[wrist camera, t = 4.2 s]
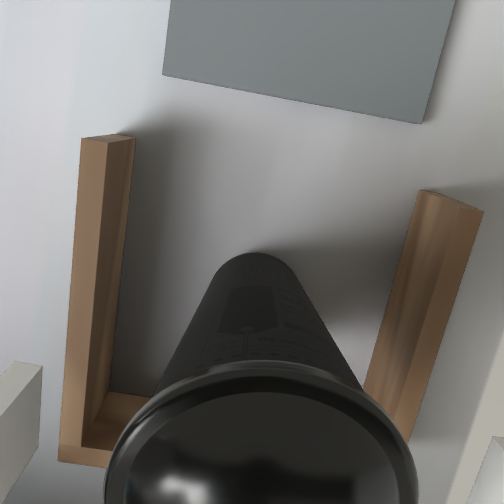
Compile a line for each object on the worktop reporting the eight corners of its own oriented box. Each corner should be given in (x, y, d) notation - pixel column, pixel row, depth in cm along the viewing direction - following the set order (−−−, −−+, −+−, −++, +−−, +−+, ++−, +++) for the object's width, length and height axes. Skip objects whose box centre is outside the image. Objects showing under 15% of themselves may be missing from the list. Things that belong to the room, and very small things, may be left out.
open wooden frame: (89, 403, 26) (57, 461, 22) (114, 133, 22) (81, 138, 17) (364, 444, 27) (386, 507, 22) (439, 193, 23) (484, 211, 18)
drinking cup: (152, 304, 24) (-218, 1022, 5) (246, 195, 23) (234, 635, 3) (261, 386, 26) (299, 1187, 6) (356, 289, 24) (785, 971, 5)
